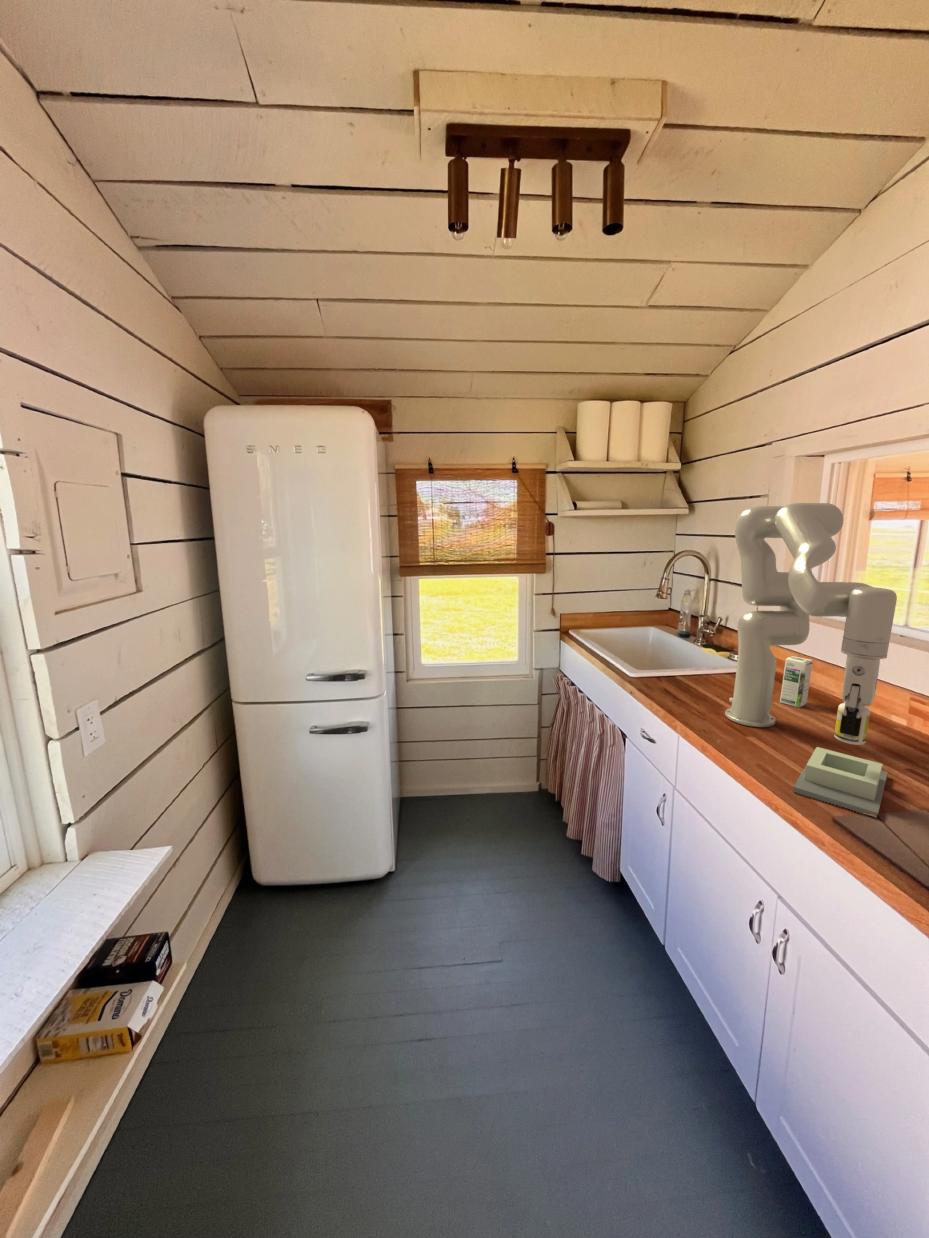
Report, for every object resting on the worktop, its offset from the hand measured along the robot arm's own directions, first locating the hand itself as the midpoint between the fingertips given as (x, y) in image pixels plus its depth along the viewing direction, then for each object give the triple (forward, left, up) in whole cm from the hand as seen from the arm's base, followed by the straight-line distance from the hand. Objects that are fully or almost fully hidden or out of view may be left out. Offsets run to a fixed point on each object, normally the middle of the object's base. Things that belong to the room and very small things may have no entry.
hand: (851, 729), depth 108 cm
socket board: (0, 0, -13) cm, 13 cm away
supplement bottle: (0, 0, -3) cm, 3 cm away
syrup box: (-48, +22, -13) cm, 55 cm away
